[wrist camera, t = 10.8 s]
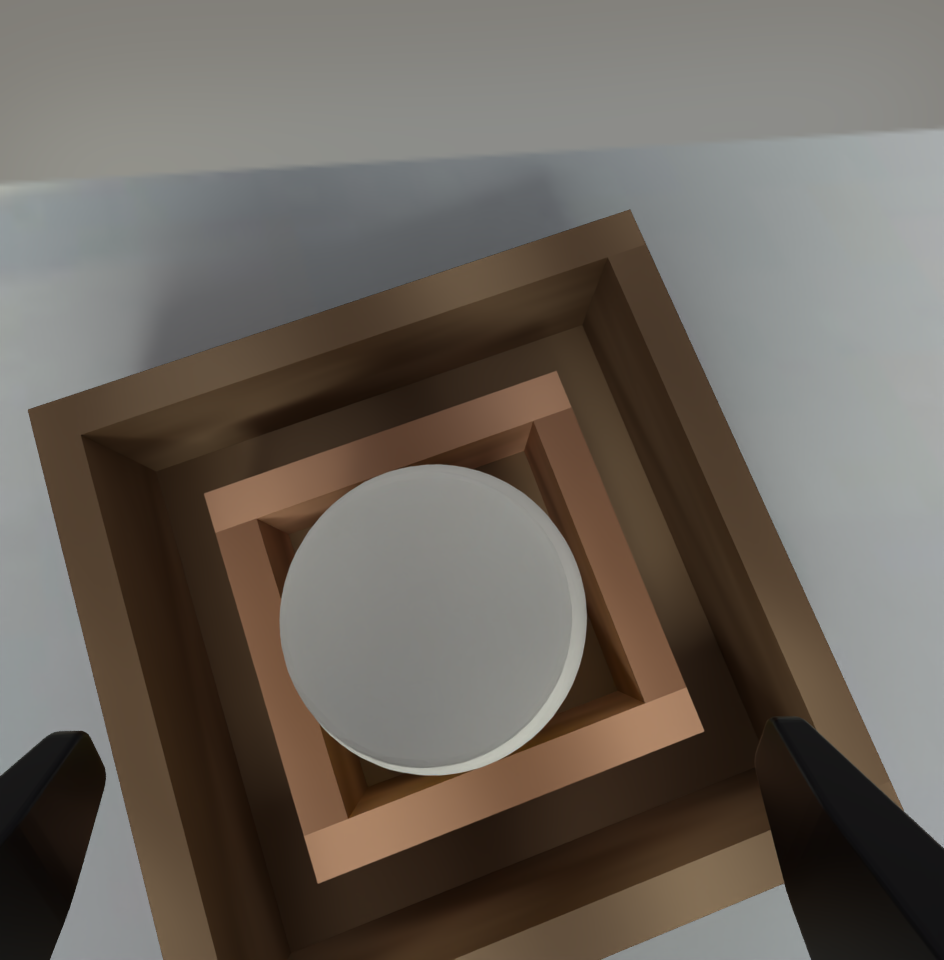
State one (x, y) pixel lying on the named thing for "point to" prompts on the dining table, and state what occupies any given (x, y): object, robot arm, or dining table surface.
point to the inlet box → (603, 668)
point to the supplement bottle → (433, 619)
